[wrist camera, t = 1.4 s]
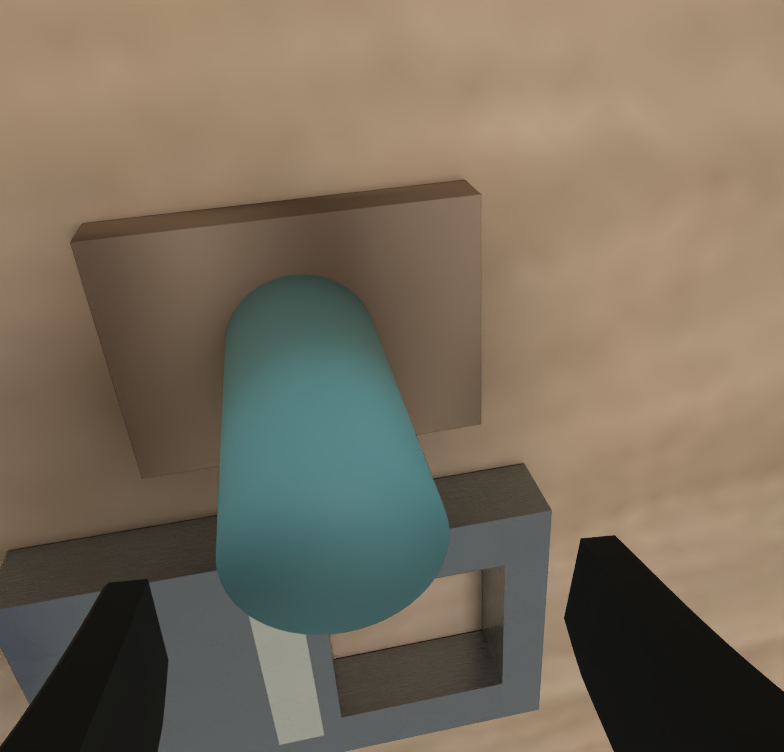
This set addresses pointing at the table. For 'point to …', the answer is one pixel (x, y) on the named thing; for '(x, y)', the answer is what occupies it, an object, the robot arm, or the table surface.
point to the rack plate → (301, 651)
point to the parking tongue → (271, 261)
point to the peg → (319, 467)
